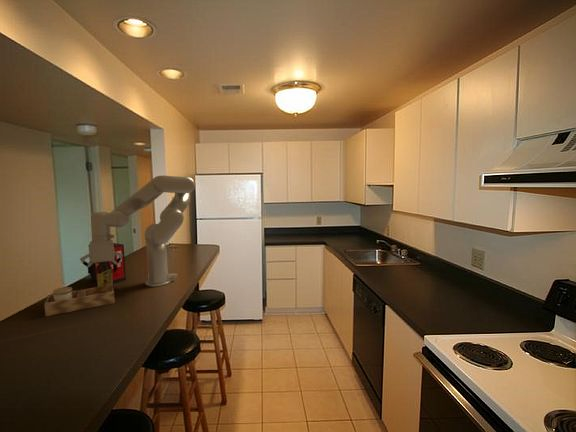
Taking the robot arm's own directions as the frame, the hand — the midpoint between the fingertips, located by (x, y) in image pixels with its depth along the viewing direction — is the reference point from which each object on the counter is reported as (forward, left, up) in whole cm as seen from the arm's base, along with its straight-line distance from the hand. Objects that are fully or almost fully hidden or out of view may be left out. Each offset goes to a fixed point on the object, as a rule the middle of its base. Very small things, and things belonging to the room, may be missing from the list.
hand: (102, 273), depth 141 cm
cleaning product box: (-3, -22, -10) cm, 24 cm away
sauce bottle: (-1, 0, -10) cm, 10 cm away
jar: (+15, +12, -9) cm, 21 cm away
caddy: (+8, +12, -10) cm, 18 cm away
